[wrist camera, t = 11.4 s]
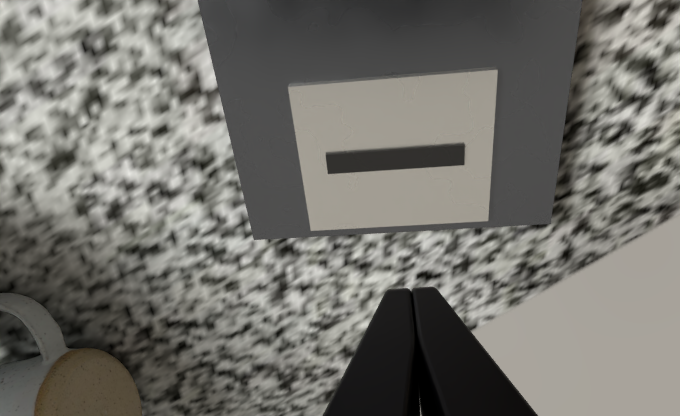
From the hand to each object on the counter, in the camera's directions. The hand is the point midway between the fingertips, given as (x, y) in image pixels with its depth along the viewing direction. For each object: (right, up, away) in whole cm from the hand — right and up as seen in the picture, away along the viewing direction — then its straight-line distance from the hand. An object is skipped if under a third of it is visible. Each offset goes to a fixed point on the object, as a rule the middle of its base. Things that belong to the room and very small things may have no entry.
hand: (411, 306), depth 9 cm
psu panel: (0, +8, +9) cm, 12 cm away
